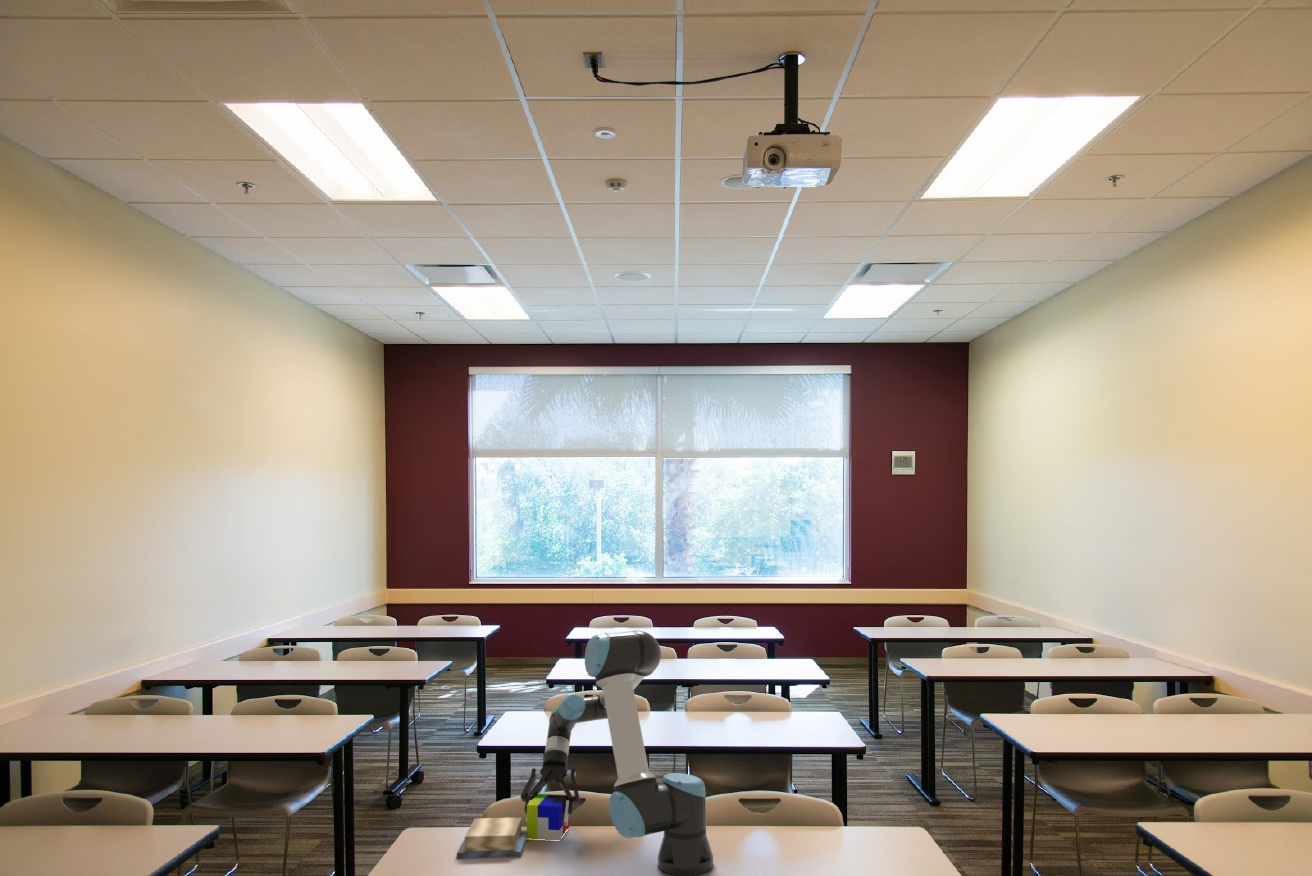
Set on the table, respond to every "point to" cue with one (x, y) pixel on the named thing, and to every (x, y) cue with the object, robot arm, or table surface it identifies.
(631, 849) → the table surface
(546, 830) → the puzzle toy
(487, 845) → the foundation block
